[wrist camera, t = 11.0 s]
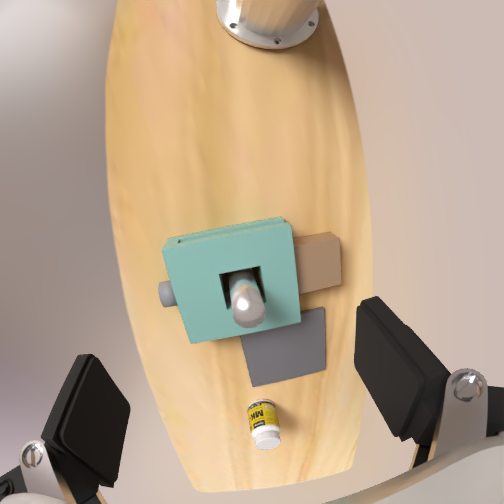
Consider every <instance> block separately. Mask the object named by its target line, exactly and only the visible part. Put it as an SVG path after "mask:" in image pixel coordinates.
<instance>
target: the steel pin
mask: <svg viewBox="0 0 504 504" xmlns="http://www.w3.org/2000/svg"><path fill="white" fill-rule="evenodd" d="M228 280H229V288H230V296H231V303H232V311H233V318H234V321H235V322H236V324H237V325H239V326H240V327H243V328H254V327H257V326H259V325H260V324H261V323H262V322H263V321H264V319H265V317H266V310H265V307H264V304H263V301H262V298H261V295H260V292H259V289H258V286H257V283H256V280H255V278H254V275H253V272H252V269H251V268H247V269H241V270H236V271H231V272H228Z"/></svg>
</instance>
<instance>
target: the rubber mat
mask: <svg viewBox="0 0 504 504" xmlns="http://www.w3.org/2000/svg"><path fill="white" fill-rule="evenodd" d="M300 316H301V322H299V323H294V324H290V325H286V326H281V327H277V328H273V329H268V330H263V331H258V332H254V333H249V334H244V335H240V337H241V341H242V346H243V350H244V354H245V358H246V362H247V366H248V371H249V375H250V379H251V383H252V387H255V386H260V385H265V384H270V383H274V382H279V381H283V380H287V379H292V378H296V377H299V376H303V375H307V374H311V373H314V372H318V371H322V370H325V315H324V308H323V307H320V308H316V309H312V310H308V311H304V312H300Z"/></svg>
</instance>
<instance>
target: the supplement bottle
mask: <svg viewBox="0 0 504 504" xmlns="http://www.w3.org/2000/svg"><path fill="white" fill-rule="evenodd" d="M248 416H249V423H250V429H251V435H252V437H253V438H254V441H255V445H256V447H257V448H258V449H261V450H268V449H273V448H275V447H277V446H279V445H280V443H281V440H280V436H279V434H280V426H279V422H278V418H277V414H276V410H275V406H274V404H273V402H272V401H270V400H265V399H261V400H256V401H254V402H252V403H251V404H250V405H249V406H248Z"/></svg>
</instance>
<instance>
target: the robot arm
mask: <svg viewBox="0 0 504 504" xmlns="http://www.w3.org/2000/svg"><path fill="white" fill-rule="evenodd" d="M321 1H322V0H217V5H216V13H217V17H218V20H219V22H220V24H221V25H222V27H223V28H224V29H225V30H226V31H227V32H228V33H229V34H230V35H231V36H233V37H234V38H236V39H237V40H239V41H241V42H243V43H245V44H248V45H251V46H254V47H259V48H264V49H285V48H289V47H294V46H296V45H298V44H301V43H302V42H304V41H305V40H307V39H308V38H309V37H310V36H311V35H312V34H313V32H314V31H315V29H316V27H317V25H318V21H319V14H318V9H317V6H318V5H319V4H320V3H321ZM233 28H234V29H233ZM275 42H276V43H278V44H276V43H275ZM354 364H355V368H356V370H357V372H358V373H359V375H360V377H361V379H362V380H363V382H364V384H365V386H366V387H367V389H368V391H369V392H370V394H371V396H372V398H373V400H374V401H375V403H376V405H377V407H378V409H379V411H380V412H381V414H382V416H383V417H384V420H385V421H386V423H387V425H388V427H389V429H390V430H391V432H392V434H393V435H394V437H398V436H399V437H400V439H401V441H402V442H403V441H405V440H407V439H409V438H411V437H412V438H413V440H414V442H415V443H416V444H417V445H416V449H415V452H414V455H413V459H412V462H411V465H410V468H409V471H407V472H405V473H403V474H401V475H399V476H396V477H395V478H392V479H390V480H387V481H385V482H383V483H380V484H378V485H375V486H373V487H370V488H368V489H365V490H363V491H360V492H357V493H354V494H352V495H349V496H346V497H343V498H340V499H337V500H333V501H330V502H327V503H323V504H504V388H502V387H493V386H487V382H486V380H485V378H484V376H483V375H482V374H480V373H479V372H477V371H475V370H473V369H468V368H467V369H460V370H457V371H455V372H454V373H453V374H451V373H450V372H449V371H448V370H447V369H446V368H445V366H444V365H443V364H442V363H441V362H440V360H439V359H438V358H437V357H436V356H435V355H434V354H433V352H432V351H431V350H430V349H429V348H428V347H427V346H426V345H425V344H424V342H423V341H422V340H421V339H420V338H419V337H418V336H417V335H416V334H415V333H414V331H413V330H412V329H411V328H410V327H408V326H407V325H405V324H404V323H403V322H402V321H401V320H400V319H399V318H398V317H397V316H396V315H395V314H394V313H393V312H392V310H391V309H390V308H389V307H388V306H387V305H386V304H385V303H384V302H383V301H382V300H381V299H380V298H379V297H378V296H375V297H372V298H369V299H365V300H362V301H361V304H360V306H358V307H357V312H356V337H355V353H354ZM129 415H130V405H129V403H128V401H127V400H126V398H125V397H124V396H123V394H122V393H121V391H120V390H119V389H118V387H117V386H116V384H115V383H114V381H113V380H112V379H111V377H110V376H109V374H108V373H107V371H106V369H105V368H104V366H103V365H102V363H101V362H100V360H99V359H98V358H96V357H95V356H94V355H93V354H83V355H78V356H77V358H76V360H75V362H74V364H73V366H72V368H71V370H70V372H69V374H68V376H67V378H66V380H65V382H64V384H63V386H62V388H61V390H60V393H59V395H58V397H57V399H56V402H55V404H54V406H53V408H52V411H51V413H50V415H49V418H48V420H47V422H46V425H45V427H44V430H43V432H42V435H41V438H42V439H43V440H44V441H45V444H42V443H41V442H40V441H37V440H32V441H29V442H28V443H26V444H25V445H24V446H23V448H22V449H21V451H20V455H19V462H20V465H19V466H17V467H16V468H14V469H12V470H11V471H9V472H8V473H6V474H4V475H3V476H1V477H0V504H107V502H106V500H105V499H104V497H103V496H102V494H101V492H100V491H99V489H98V487H99V484H100V485H101V486H106V487H111V488H113V487H114V482H115V481H116V480H117V478H118V472H119V466H120V460H121V455H122V449H123V444H124V439H125V434H126V429H127V424H128V419H129Z"/></svg>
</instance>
